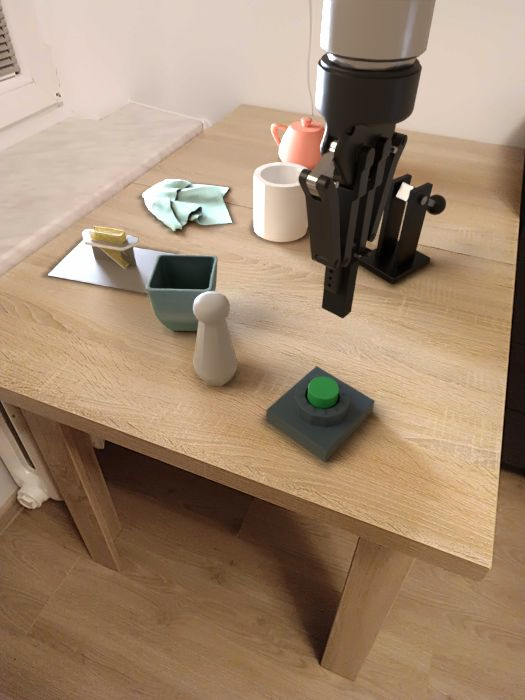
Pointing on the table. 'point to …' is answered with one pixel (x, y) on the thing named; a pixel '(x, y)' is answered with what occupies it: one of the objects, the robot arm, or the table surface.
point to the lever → (435, 201)
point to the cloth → (187, 203)
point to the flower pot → (180, 288)
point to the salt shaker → (213, 340)
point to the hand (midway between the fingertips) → (336, 309)
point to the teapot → (300, 142)
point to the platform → (108, 261)
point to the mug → (279, 202)
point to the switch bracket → (394, 255)
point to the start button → (323, 392)
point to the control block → (319, 416)
